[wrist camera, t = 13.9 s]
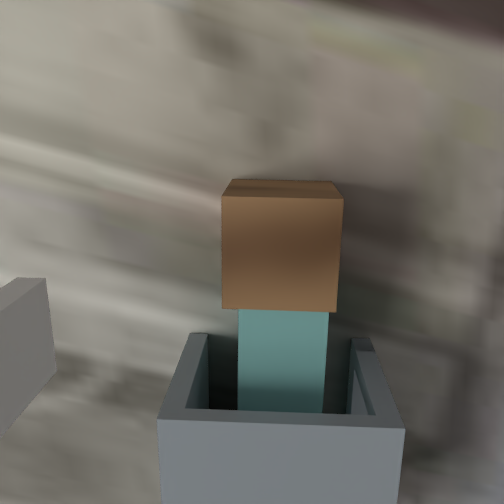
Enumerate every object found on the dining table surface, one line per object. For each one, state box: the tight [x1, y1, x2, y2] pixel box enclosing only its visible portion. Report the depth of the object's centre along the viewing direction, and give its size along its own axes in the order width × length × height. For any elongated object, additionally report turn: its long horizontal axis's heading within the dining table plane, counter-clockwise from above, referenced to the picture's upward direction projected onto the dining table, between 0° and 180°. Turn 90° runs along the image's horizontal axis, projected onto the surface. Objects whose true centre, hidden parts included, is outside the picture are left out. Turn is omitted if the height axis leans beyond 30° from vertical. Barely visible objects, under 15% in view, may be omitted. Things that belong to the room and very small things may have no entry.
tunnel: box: [157, 333, 405, 504], centre depth 25 cm, size 10×10×8 cm
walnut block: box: [222, 179, 344, 312], centre depth 23 cm, size 5×5×5 cm
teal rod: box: [238, 309, 329, 413], centre depth 26 cm, size 18×4×5 cm, turn 179°
